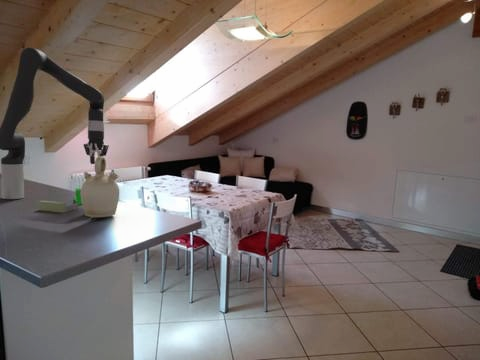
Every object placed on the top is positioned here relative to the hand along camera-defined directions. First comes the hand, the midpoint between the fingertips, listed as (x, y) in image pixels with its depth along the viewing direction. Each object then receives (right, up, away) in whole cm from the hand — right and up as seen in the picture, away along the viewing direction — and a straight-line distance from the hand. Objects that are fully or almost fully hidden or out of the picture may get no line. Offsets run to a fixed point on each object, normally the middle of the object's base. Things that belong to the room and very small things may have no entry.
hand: (96, 163), depth 177 cm
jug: (+14, -23, -28) cm, 39 cm away
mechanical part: (-6, -20, -3) cm, 21 cm away
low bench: (-8, -21, -22) cm, 31 cm away
